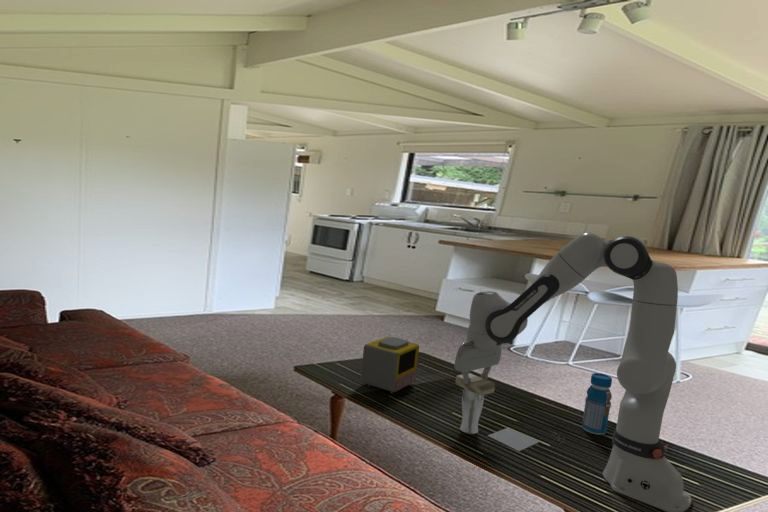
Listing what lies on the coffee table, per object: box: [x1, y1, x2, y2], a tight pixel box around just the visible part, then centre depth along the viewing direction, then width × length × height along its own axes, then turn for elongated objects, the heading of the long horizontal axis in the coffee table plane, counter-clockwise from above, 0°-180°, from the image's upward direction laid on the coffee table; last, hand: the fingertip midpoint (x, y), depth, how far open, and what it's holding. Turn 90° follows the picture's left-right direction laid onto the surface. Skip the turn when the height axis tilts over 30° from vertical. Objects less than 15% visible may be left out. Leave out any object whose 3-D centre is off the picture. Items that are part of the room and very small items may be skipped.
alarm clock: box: [360, 336, 420, 395], centre depth 204 cm, size 20×16×18 cm
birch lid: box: [454, 372, 496, 396], centre depth 169 cm, size 11×7×3 cm, turn 42°
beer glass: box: [459, 388, 485, 435], centre depth 170 cm, size 7×7×15 cm
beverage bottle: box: [581, 372, 613, 436], centre depth 181 cm, size 8×8×20 cm
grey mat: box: [487, 427, 540, 452], centre depth 167 cm, size 12×12×1 cm
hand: (475, 380), depth 169 cm, fingers open, 8 cm apart
